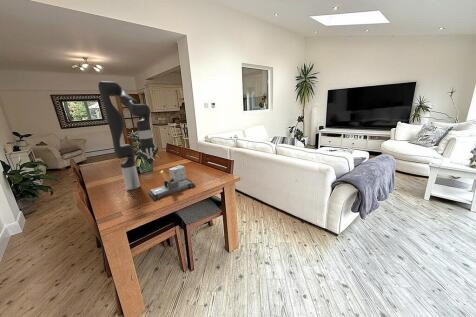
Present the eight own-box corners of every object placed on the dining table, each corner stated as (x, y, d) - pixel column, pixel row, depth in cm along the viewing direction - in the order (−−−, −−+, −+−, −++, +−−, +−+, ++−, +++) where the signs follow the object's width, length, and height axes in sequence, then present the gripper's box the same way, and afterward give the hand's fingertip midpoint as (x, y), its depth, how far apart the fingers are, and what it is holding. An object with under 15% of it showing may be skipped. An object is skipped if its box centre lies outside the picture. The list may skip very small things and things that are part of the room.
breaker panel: (151, 193, 133) (149, 184, 131) (186, 182, 148) (184, 174, 146) (155, 198, 125) (153, 189, 123) (191, 186, 141) (190, 177, 139)
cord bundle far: (182, 182, 149) (182, 180, 148) (187, 181, 151) (187, 179, 150) (191, 188, 137) (190, 186, 137) (196, 186, 140) (195, 184, 139)
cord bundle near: (148, 193, 133) (147, 191, 133) (153, 191, 136) (153, 189, 135) (154, 201, 122) (153, 198, 122) (160, 199, 125) (160, 196, 124)
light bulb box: (181, 176, 161) (179, 164, 157) (186, 178, 157) (184, 166, 154) (170, 181, 152) (168, 168, 149) (175, 183, 149) (173, 170, 145)
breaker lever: (169, 185, 137) (159, 171, 131) (171, 184, 138) (161, 169, 132) (171, 187, 134) (161, 173, 128) (173, 185, 135) (164, 171, 128)
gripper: (154, 135, 126) (159, 160, 131) (132, 138, 118) (138, 164, 123) (158, 136, 120) (163, 162, 126) (135, 139, 112) (141, 167, 118)
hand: (150, 163), depth 124 cm, fingers closed
